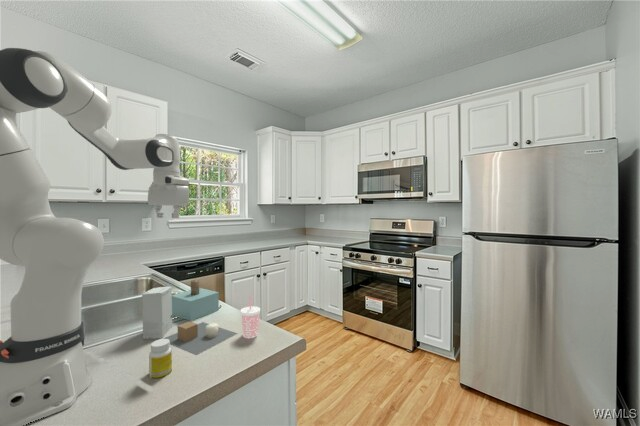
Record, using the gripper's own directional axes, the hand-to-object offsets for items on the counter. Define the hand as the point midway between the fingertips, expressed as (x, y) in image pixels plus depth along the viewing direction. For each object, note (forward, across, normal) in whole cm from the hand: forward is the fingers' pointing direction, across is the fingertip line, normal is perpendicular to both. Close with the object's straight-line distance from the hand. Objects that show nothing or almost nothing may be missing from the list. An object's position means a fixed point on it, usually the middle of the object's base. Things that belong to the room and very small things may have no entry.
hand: (167, 218), depth 103 cm
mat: (+37, +25, -5) cm, 45 cm away
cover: (+37, +6, +7) cm, 38 cm away
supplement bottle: (+37, +33, -22) cm, 54 cm away
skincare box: (+37, +11, -10) cm, 40 cm away
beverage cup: (+37, +38, +4) cm, 53 cm away
